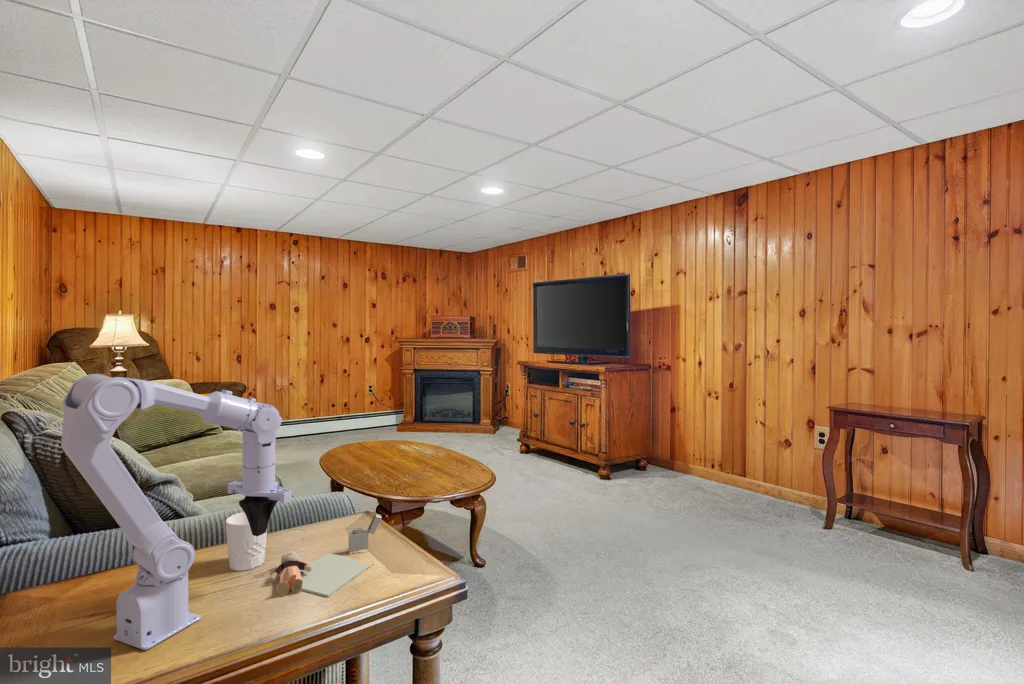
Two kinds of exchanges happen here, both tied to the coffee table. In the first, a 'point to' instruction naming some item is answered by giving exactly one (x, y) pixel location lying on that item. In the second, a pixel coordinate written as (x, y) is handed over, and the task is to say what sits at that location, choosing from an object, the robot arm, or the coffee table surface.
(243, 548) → the white cup
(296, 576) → the grandmother figurine
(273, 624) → the coffee table surface
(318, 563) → the mat
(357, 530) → the lighter
